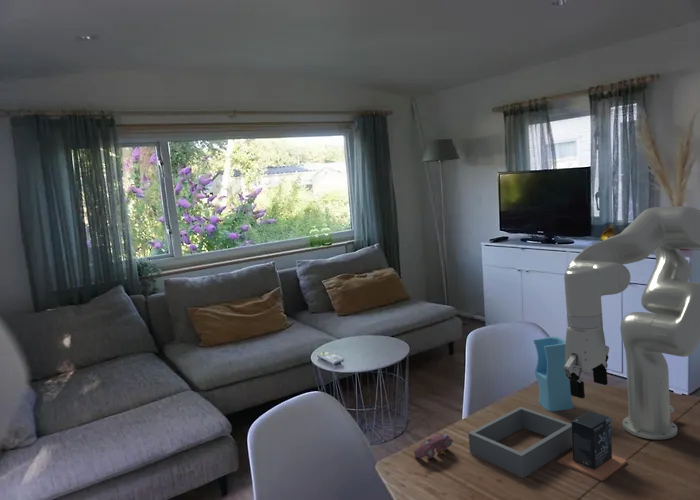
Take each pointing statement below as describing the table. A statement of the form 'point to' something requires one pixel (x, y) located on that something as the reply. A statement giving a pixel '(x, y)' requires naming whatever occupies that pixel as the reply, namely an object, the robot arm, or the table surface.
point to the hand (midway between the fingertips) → (589, 389)
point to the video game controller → (433, 446)
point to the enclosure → (530, 458)
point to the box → (591, 439)
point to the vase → (552, 374)
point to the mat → (600, 471)
